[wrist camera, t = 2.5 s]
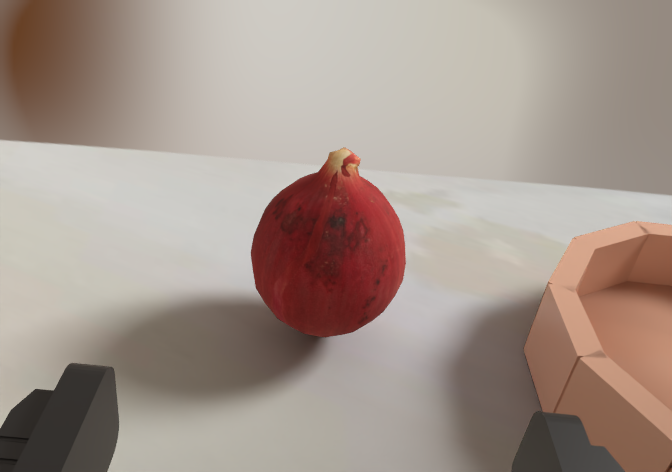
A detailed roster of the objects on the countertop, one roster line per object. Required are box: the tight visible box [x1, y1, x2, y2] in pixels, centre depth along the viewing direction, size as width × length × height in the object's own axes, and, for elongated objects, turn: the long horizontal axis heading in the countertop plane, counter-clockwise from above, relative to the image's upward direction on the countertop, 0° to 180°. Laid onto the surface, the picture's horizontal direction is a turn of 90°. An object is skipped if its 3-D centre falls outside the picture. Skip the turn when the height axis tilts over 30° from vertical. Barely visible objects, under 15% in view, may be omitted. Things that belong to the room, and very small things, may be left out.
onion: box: [251, 148, 406, 337], centre depth 24 cm, size 6×6×8 cm
